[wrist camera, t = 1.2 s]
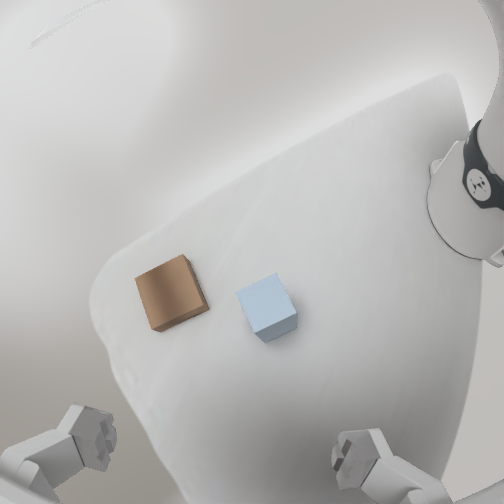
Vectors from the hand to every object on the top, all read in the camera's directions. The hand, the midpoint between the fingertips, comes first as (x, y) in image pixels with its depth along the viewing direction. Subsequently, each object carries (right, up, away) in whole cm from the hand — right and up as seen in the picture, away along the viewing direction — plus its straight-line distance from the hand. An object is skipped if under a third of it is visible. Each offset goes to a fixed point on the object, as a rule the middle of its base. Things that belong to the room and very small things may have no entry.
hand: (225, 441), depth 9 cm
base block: (-9, +1, +30) cm, 31 cm away
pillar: (+3, -1, +27) cm, 27 cm away
